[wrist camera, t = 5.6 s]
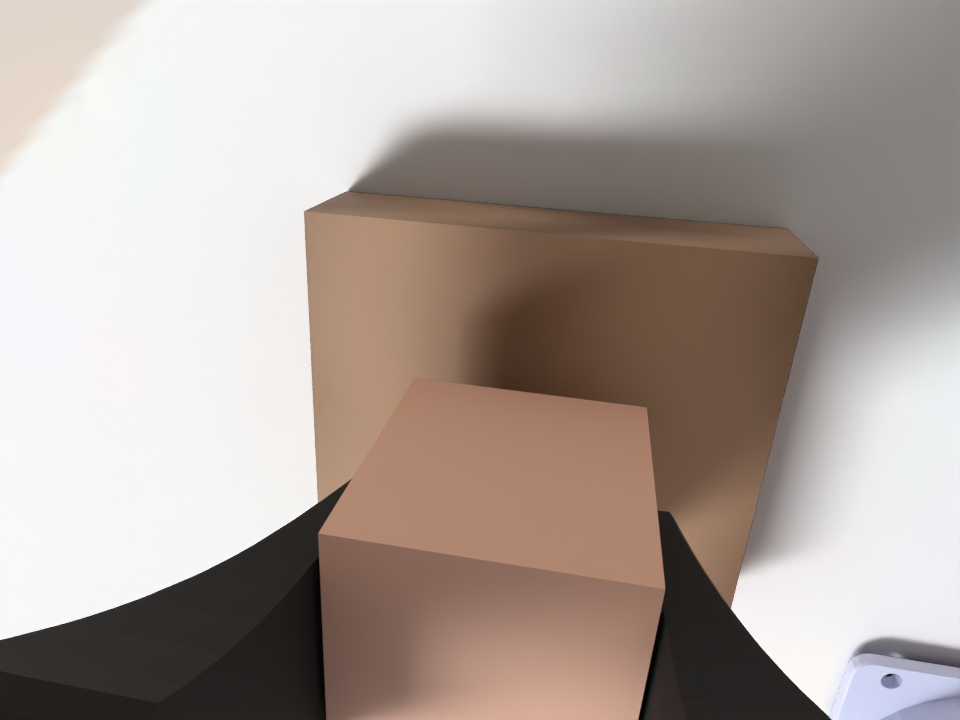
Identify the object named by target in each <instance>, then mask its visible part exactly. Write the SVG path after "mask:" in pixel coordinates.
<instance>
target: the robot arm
mask: <svg viewBox="0 0 960 720" xmlns="http://www.w3.org/2000/svg"><path fill="white" fill-rule="evenodd" d="M351 480H352V479H351ZM351 480H349V481H348V482H346V483H345V484H344V485H342V486H341V487H340V488H338V489H337V490H335V491H334V492H333V493H331V494H330V495H329V496H327V497H326V498H324V499H323V500H322V501H320V502H319V503H317V504H316V505H315V506H313V507H312V508H310V509H309V510H307V511H306V512H305V513H303V514H302V515H300V516H299V517H297V518H296V519H294V520H293V521H291V522H290V523H288V524H287V525H285V526H283V527H282V528H280V529H279V530H277V531H275V532H274V533H272V534H271V535H269V536H267V537H266V538H264V539H263V540H261V541H259V542H258V543H256V544H255V545H253V546H251V547H250V548H248V549H246V550H244V551H243V552H241V553H239V554H237V555H235V556H233V557H232V558H230V559H228V560H226V561H224V562H222V563H220V564H218V565H216V566H214V567H212V568H210V569H208V570H206V571H204V572H202V573H200V574H198V575H195V576H193V577H191V578H189V579H186V580H184V581H182V582H179V583H177V584H174V585H172V586H170V587H167V588H165V589H163V590H160V591H158V592H155V593H153V594H151V595H148V596H146V597H143V598H141V599H138V600H135V601H133V602H130V603H127V604H124V605H121V606H119V607H116V608H113V609H110V610H107V611H104V612H101V613H98V614H95V615H92V616H88V617H85V618H82V619H79V620H75V621H72V622H69V623H65V624H62V625H58V626H54V627H50V628H46V629H43V630H39V631H35V632H31V633H27V634H23V635H19V636H16V637H12V638H8V639H3V640H0V720H326V700H325V677H324V655H323V633H322V610H321V588H320V566H319V543H318V533H319V531H320V529H321V528H322V526H323V525H324V523H325V521H326V520H327V518H328V517H329V515H330V513H331V512H332V510H333V509H334V507H335V505H336V504H337V502H338V501H339V499H340V497H341V496H342V494H343V492H344V491H345V489H346V488H347V486H348V484H349V483H350V481H351ZM657 512H658V522H659V531H660V541H661V551H662V561H663V570H664V580H665V594H664V598H663V603H662V608H661V613H660V618H659V622H658V627H657V632H656V637H655V642H654V646H653V651H652V656H651V661H650V666H649V670H648V675H647V680H646V685H645V690H644V694H643V699H642V704H641V709H640V714H639V718H638V720H960V668H957V667H951V666H945V665H938V664H932V663H926V662H920V661H914V660H908V659H902V658H895V657H889V656H883V655H877V654H860V655H857V656H855V657H854V658H852V659H851V660H850V662H849V663H848V665H847V668H846V671H845V673H844V676H843V679H842V682H841V685H840V688H839V691H838V693H837V696H836V699H835V702H834V705H833V708H832V711H831V713H830V716H827V715H826V714H825V713H824V712H823V711H822V710H821V709H820V708H819V707H818V706H817V705H816V704H815V703H814V702H813V701H812V700H810V699H809V698H808V697H807V696H806V695H805V694H804V693H803V692H802V691H801V690H800V689H799V688H798V687H797V686H796V685H795V684H794V683H793V682H792V681H791V680H790V679H789V678H788V677H787V676H786V675H785V674H784V672H783V671H782V670H781V669H780V668H779V667H778V666H777V665H776V664H775V663H774V661H773V660H772V659H771V658H770V657H769V656H768V655H767V654H766V653H765V652H764V650H763V649H762V648H761V647H760V646H759V645H758V643H757V642H756V641H755V640H754V638H753V637H752V636H751V635H750V633H749V632H748V631H747V630H746V628H745V627H744V626H743V624H742V623H741V622H740V620H739V619H738V618H737V617H736V615H735V614H734V613H733V611H732V610H731V608H730V607H729V606H728V604H727V603H726V601H725V600H724V599H723V597H722V596H721V594H720V593H719V591H718V590H717V588H716V587H715V585H714V584H713V582H712V581H711V579H710V578H709V576H708V575H707V573H706V572H705V570H704V569H703V567H702V566H701V564H700V562H699V561H698V559H697V557H696V556H695V554H694V552H693V551H692V549H691V547H690V546H689V544H688V542H687V541H686V539H685V537H684V535H683V533H682V532H681V530H680V528H679V526H678V524H677V522H676V520H675V519H674V517H673V516H672V515H671V513H670V512H666V511H659V510H657ZM887 674H894V675H892V676H890V677H883V676H885V675H887Z"/></svg>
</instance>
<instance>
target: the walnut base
mask: <svg viewBox="0 0 960 720" xmlns="http://www.w3.org/2000/svg"><path fill="white" fill-rule="evenodd" d="M304 219H305V240H306V261H307V282H308V303H309V323H310V344H311V365H312V386H313V406H314V427H315V448H316V469H317V489H318V503H319V502H320V501H322V500H323V499H324V498H326V497H327V496H329V495H330V494H331V493H333V492H334V491H335V490H337V489H338V488H340V487H341V486H342V485H344V484H345V483H346V482H348V481H349V480H351V479H352V478H353V476H354V475H355V473H356V472H357V470H358V468H359V467H360V465H361V464H362V462H363V460H364V459H365V457H366V455H367V454H368V452H369V451H370V449H371V447H372V446H373V444H374V443H375V441H376V439H377V438H378V436H379V435H380V433H381V431H382V430H383V428H384V427H385V425H386V423H387V422H388V420H389V418H390V417H391V415H392V414H393V412H394V410H395V409H396V407H397V406H398V404H399V402H400V401H401V399H402V398H403V396H404V394H405V393H406V391H407V390H408V388H409V386H410V385H411V383H412V381H413V380H414V378H419V379H427V380H435V381H442V382H450V383H458V384H466V385H474V386H482V387H490V388H498V389H506V390H513V391H521V392H529V393H537V394H545V395H553V396H561V397H569V398H577V399H584V400H592V401H600V402H608V403H616V404H624V405H632V406H640V407H647V415H648V424H649V434H650V444H651V454H652V463H653V473H654V483H655V492H656V502H657V510H659V511H666V512H670V513H671V515H672V516H673V517H674V519H675V520H676V522H677V524H678V526H679V528H680V530H681V532H682V533H683V535H684V537H685V539H686V541H687V542H688V544H689V546H690V547H691V549H692V551H693V552H694V554H695V556H696V557H697V559H698V561H699V562H700V564H701V566H702V567H703V569H704V570H705V572H706V573H707V575H708V576H709V578H710V579H711V581H712V582H713V584H714V585H715V587H716V588H717V590H718V591H719V593H720V594H721V596H722V597H723V599H724V600H725V601H726V603H727V604H728V606H729V607H730V608H731V605H732V601H733V597H734V593H735V589H736V585H737V581H738V577H739V573H740V569H741V565H742V561H743V557H744V553H745V549H746V545H747V541H748V537H749V533H750V529H751V525H752V521H753V517H754V513H755V509H756V505H757V501H758V497H759V493H760V489H761V485H762V481H763V477H764V473H765V469H766V465H767V461H768V457H769V453H770V449H771V445H772V441H773V437H774V433H775V429H776V426H777V422H778V418H779V414H780V410H781V406H782V402H783V398H784V394H785V390H786V386H787V382H788V378H789V374H790V370H791V366H792V362H793V358H794V354H795V350H796V346H797V342H798V338H799V334H800V330H801V326H802V322H803V318H804V314H805V310H806V306H807V302H808V298H809V294H810V290H811V286H812V282H813V278H814V274H815V270H816V266H817V262H818V257H817V256H816V255H815V254H814V253H813V252H812V251H810V250H809V249H808V248H807V247H806V246H805V245H804V244H803V243H802V242H801V241H800V240H799V239H798V238H797V237H795V236H794V235H793V234H792V233H791V232H790V231H789V230H788V229H780V228H769V227H757V226H745V225H734V224H722V223H710V222H698V221H687V220H675V219H663V218H652V217H640V216H628V215H616V214H605V213H593V212H581V211H570V210H558V209H546V208H534V207H523V206H511V205H499V204H488V203H476V202H464V201H453V200H441V199H429V198H417V197H406V196H394V195H382V194H371V193H359V192H347V191H346V192H344V193H342V194H340V195H338V196H336V197H334V198H331V199H329V200H327V201H325V202H323V203H321V204H319V205H317V206H315V207H313V208H310V209H308V210H306V211H304Z"/></svg>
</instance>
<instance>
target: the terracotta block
mask: <svg viewBox="0 0 960 720" xmlns="http://www.w3.org/2000/svg"><path fill="white" fill-rule="evenodd" d="M318 543H319V566H320V588H321V610H322V633H323V655H324V677H325V700H326V720H638V718H639V714H640V709H641V704H642V699H643V694H644V690H645V685H646V680H647V675H648V670H649V666H650V661H651V656H652V651H653V646H654V642H655V637H656V632H657V627H658V622H659V618H660V613H661V608H662V603H663V598H664V594H665V580H664V570H663V561H662V551H661V541H660V531H659V522H658V512H657V502H656V492H655V483H654V473H653V463H652V454H651V444H650V434H649V424H648V415H647V407H640V406H632V405H624V404H616V403H608V402H600V401H592V400H584V399H577V398H569V397H561V396H553V395H545V394H537V393H529V392H521V391H513V390H506V389H498V388H490V387H482V386H474V385H466V384H458V383H450V382H442V381H435V380H427V379H419V378H414V380H413V381H412V383H411V385H410V386H409V388H408V390H407V391H406V393H405V394H404V396H403V398H402V399H401V401H400V402H399V404H398V406H397V407H396V409H395V410H394V412H393V414H392V415H391V417H390V418H389V420H388V422H387V423H386V425H385V427H384V428H383V430H382V431H381V433H380V435H379V436H378V438H377V439H376V441H375V443H374V444H373V446H372V447H371V449H370V451H369V452H368V454H367V455H366V457H365V459H364V460H363V462H362V464H361V465H360V467H359V468H358V470H357V472H356V473H355V475H354V476H353V478H352V480H351V481H350V483H349V484H348V486H347V488H346V489H345V491H344V492H343V494H342V496H341V497H340V499H339V501H338V502H337V504H336V505H335V507H334V509H333V510H332V512H331V513H330V515H329V517H328V518H327V520H326V521H325V523H324V525H323V526H322V528H321V529H320V531H319V533H318Z"/></svg>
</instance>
